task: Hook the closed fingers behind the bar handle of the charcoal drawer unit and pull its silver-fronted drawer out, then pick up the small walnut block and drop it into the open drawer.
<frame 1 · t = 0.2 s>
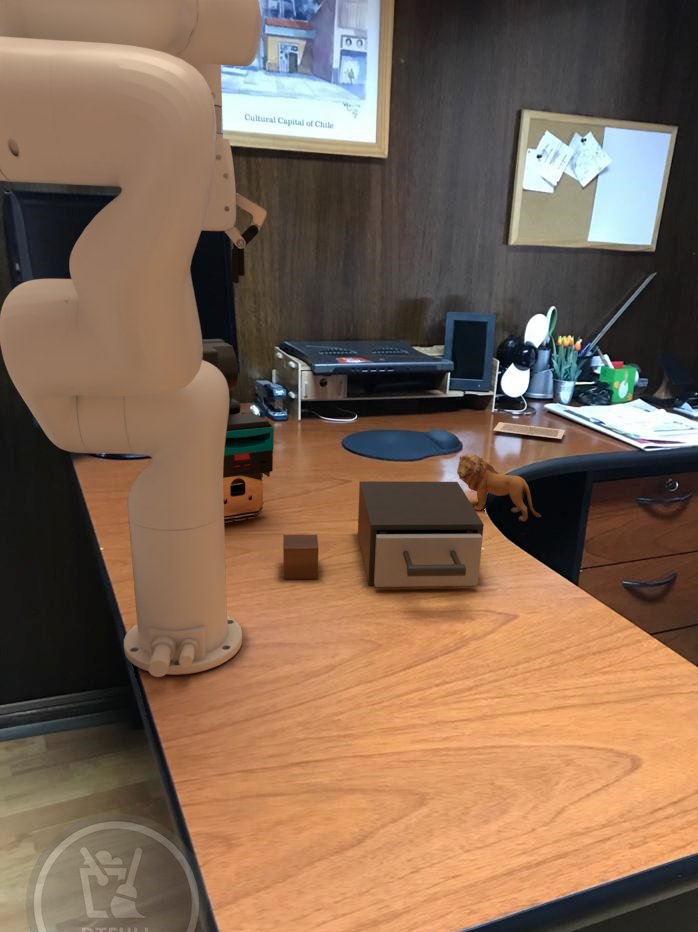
hand: (195, 280, 94), 37 cm above the table, tool pointing down, fingers open, 9 cm apart
block: (300, 571, 103), on the table
lion figurine: (493, 512, 128), on the table
bill acceptor: (217, 506, 125), on the table
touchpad: (528, 435, 174), on the table
cabinet: (414, 558, 109), on the table
drawer: (422, 546, 102), point 4 cm above the table, slide at 1.0 cm
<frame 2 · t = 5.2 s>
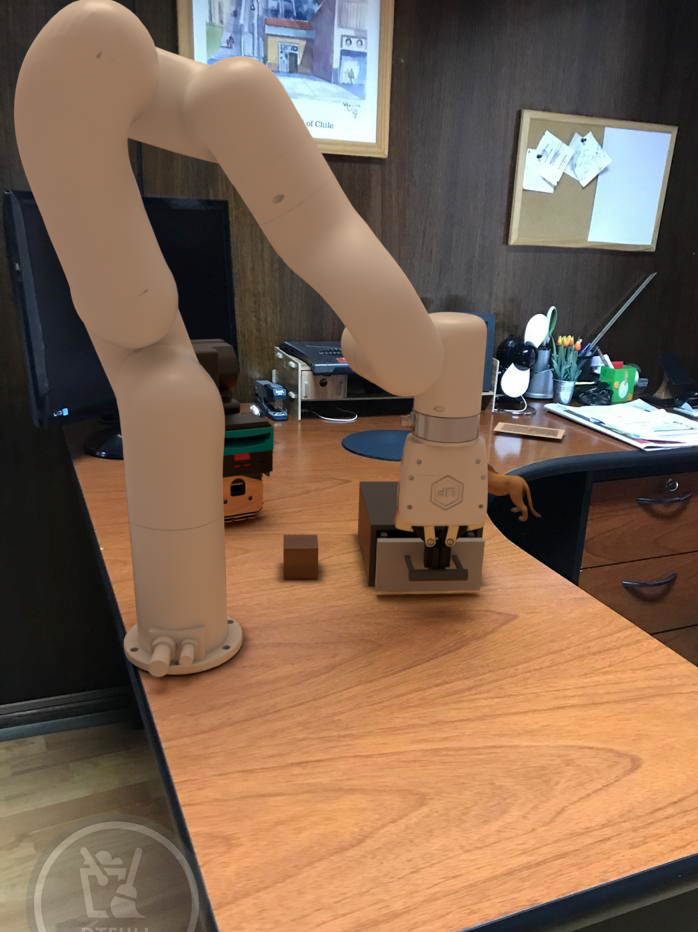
hand: (435, 572, 94), 5 cm above the table, tool pointing down, fingers closed
drawer: (423, 550, 101), point 4 cm above the table, slide at 2.3 cm, touching gripper
everything else where it was.
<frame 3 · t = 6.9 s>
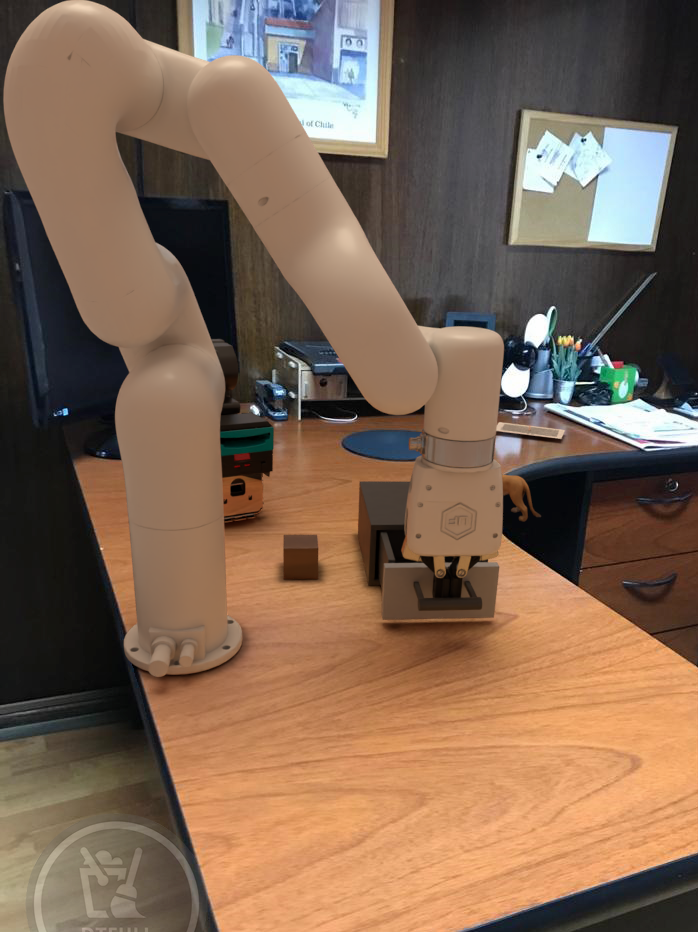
hand: (445, 604, 87), 4 cm above the table, tool pointing down, fingers closed
drawer: (433, 574, 94), point 4 cm above the table, slide at 9.5 cm, touching gripper
everything else where it was.
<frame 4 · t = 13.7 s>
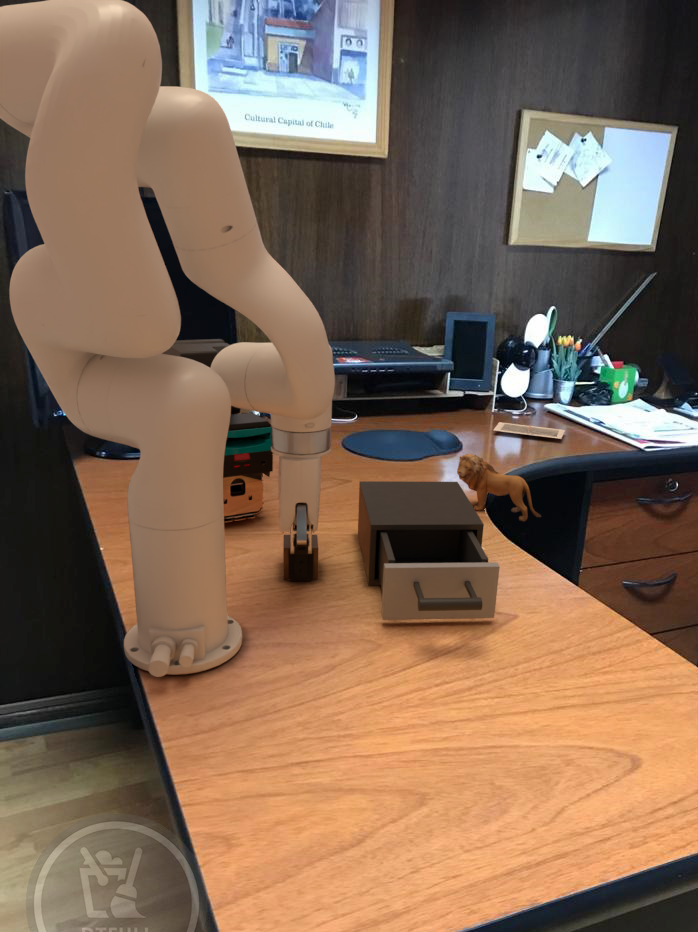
hand: (300, 569, 103), 0 cm above the table, tool pointing down, fingers closed on block, 4 cm apart
block: (300, 572, 103), on the table, touching gripper
drawer: (433, 574, 94), point 4 cm above the table, slide at 9.5 cm
everything else where it was.
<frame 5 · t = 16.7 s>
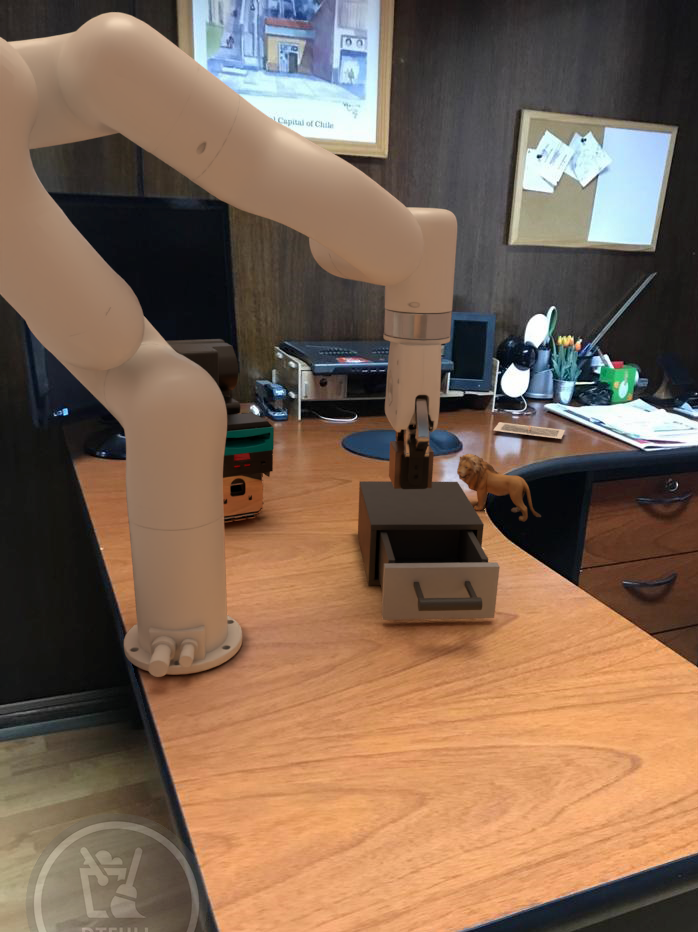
hand: (410, 479, 93), 16 cm above the table, tool pointing down, fingers closed on block, 4 cm apart
block: (409, 482, 93), point 15 cm above the table, touching gripper
everything else where it was.
when the fingers open (6 cm above the table, at t = 19.9 s): block drops 3 cm, resting on drawer.
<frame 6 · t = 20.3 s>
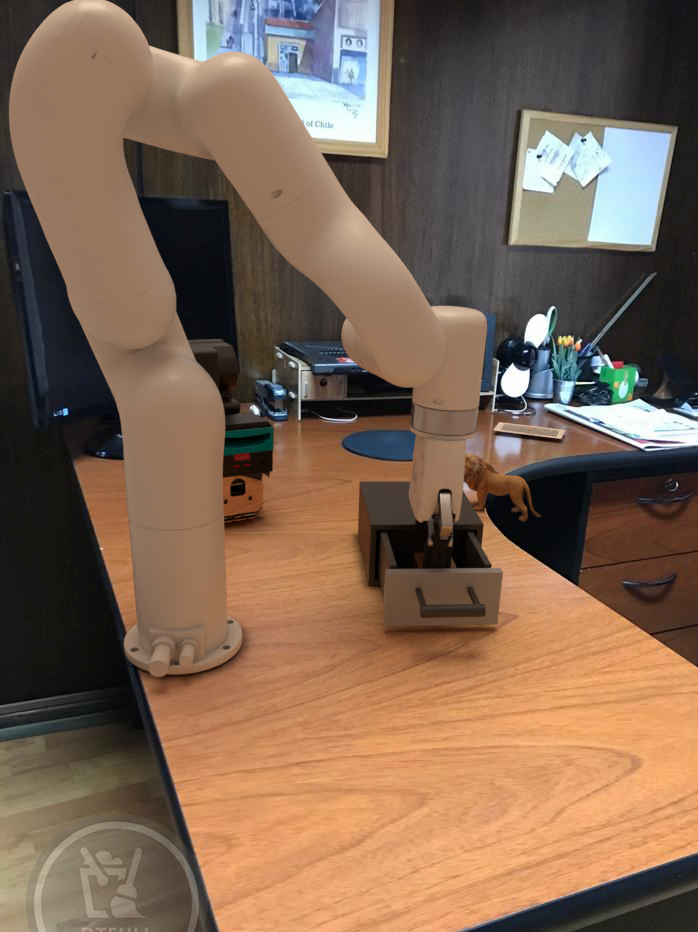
hand: (430, 560, 94), 6 cm above the table, tool pointing down, fingers open, 7 cm apart
block: (432, 593, 95), point 2 cm above the table, touching drawer
drawer: (435, 580, 93), point 4 cm above the table, slide at 11.0 cm, touching block
everything else where it was.
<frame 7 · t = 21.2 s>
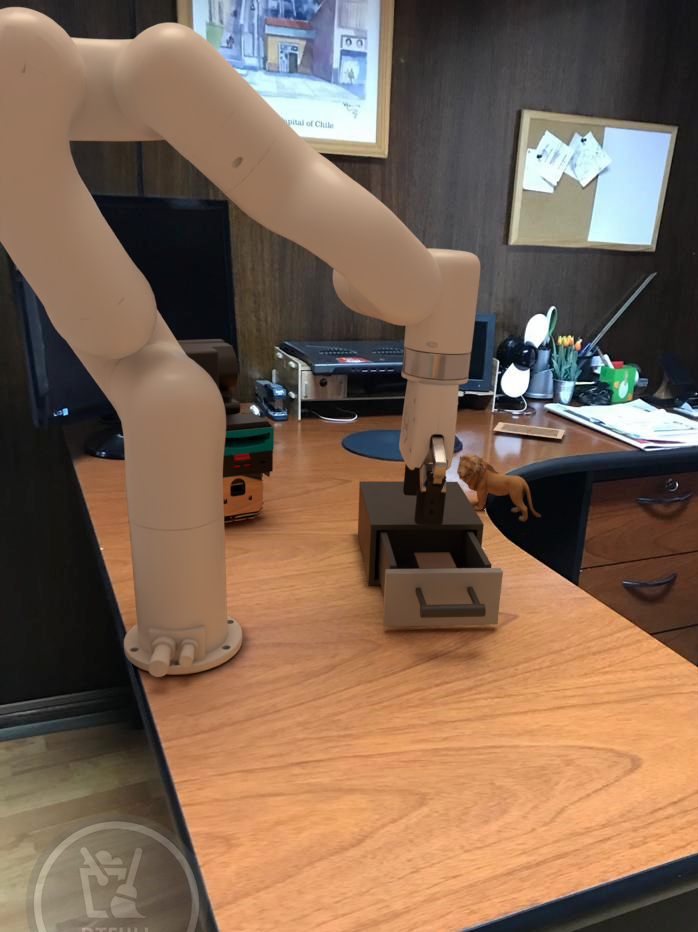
hand: (421, 508, 92), 13 cm above the table, tool pointing down, fingers open, 9 cm apart
nothing on the table moved.
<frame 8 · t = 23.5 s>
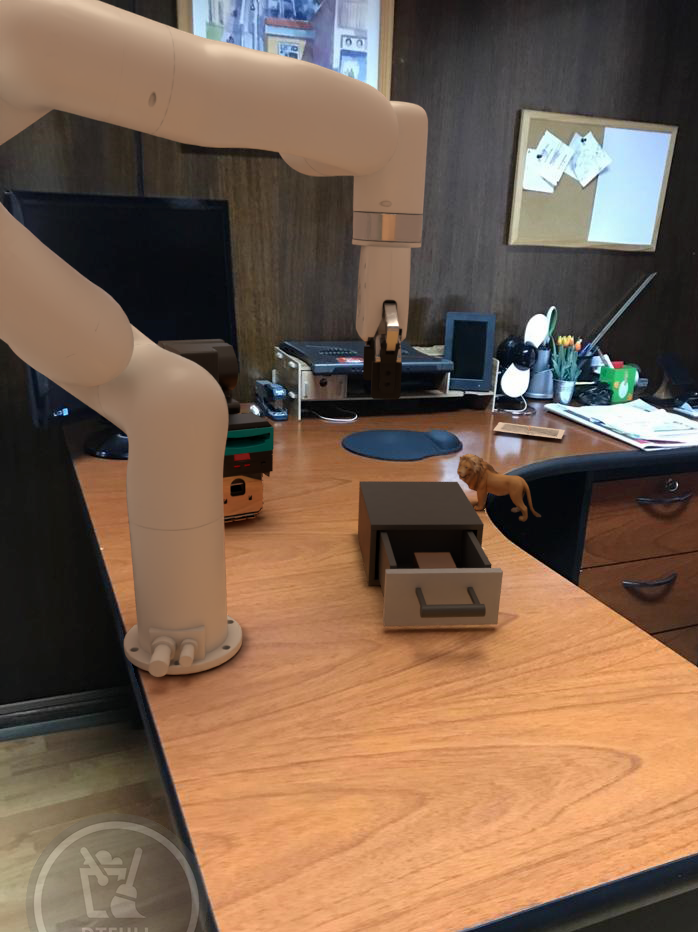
hand: (380, 388, 89), 26 cm above the table, tool pointing down, fingers open, 9 cm apart
nothing on the table moved.
at the end: drawer slide at 11.0 cm; block inside the target area in the drawer (4.0 cm from its centre), point 2.0 cm above the cabinet's base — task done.
